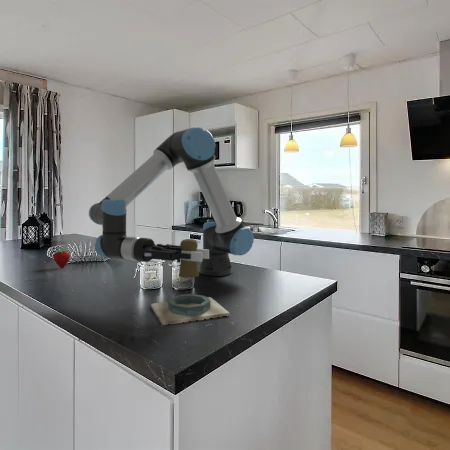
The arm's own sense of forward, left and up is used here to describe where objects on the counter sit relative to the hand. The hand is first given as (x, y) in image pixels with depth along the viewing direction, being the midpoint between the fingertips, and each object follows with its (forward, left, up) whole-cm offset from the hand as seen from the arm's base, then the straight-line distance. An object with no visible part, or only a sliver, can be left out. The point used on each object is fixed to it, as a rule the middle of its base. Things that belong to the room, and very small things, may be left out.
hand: (205, 255), depth 102 cm
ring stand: (+4, -4, -18) cm, 19 cm away
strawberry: (+42, -78, -18) cm, 90 cm away
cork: (+4, -4, -7) cm, 9 cm away
